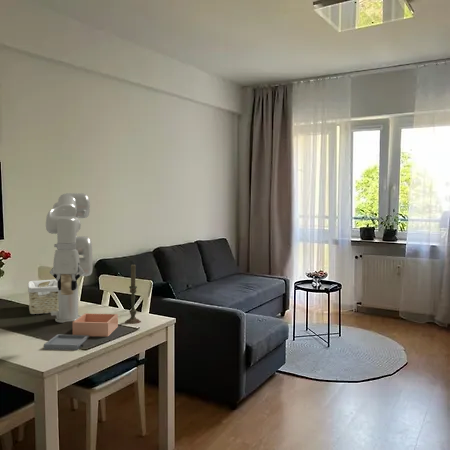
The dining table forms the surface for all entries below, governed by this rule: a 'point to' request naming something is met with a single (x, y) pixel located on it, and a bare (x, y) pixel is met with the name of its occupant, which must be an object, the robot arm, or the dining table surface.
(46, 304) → the storage basket
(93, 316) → the pink open storage bin
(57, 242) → the robot arm
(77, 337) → the grey tray
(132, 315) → the candlestick holder
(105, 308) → the dining table surface
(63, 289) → the birch peg
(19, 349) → the dining table surface
